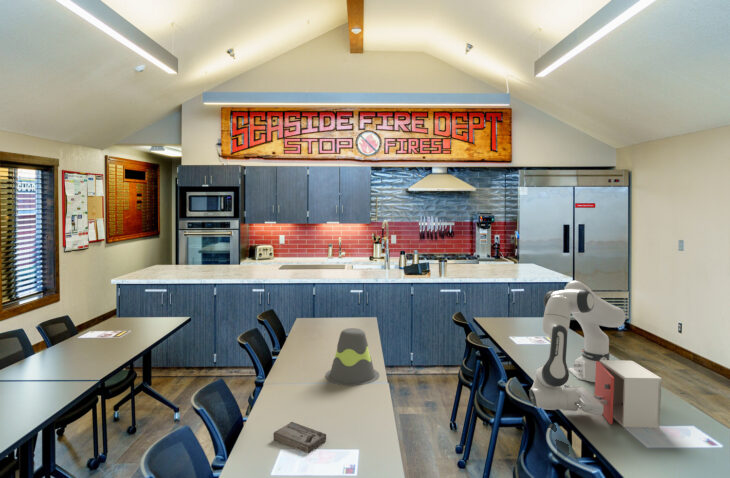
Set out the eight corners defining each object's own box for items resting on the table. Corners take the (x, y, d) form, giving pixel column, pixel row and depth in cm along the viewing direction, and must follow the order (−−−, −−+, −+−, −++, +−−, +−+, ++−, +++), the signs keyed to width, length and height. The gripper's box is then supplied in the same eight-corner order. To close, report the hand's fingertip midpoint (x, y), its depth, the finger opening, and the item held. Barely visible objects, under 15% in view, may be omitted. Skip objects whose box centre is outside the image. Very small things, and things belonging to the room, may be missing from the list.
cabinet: (598, 404, 209) (599, 360, 208) (630, 404, 208) (631, 360, 207) (623, 427, 187) (625, 377, 186) (659, 427, 186) (661, 378, 185)
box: (291, 428, 184) (291, 420, 184) (326, 441, 175) (326, 433, 174) (272, 440, 175) (272, 432, 175) (308, 454, 166) (308, 446, 165)
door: (590, 402, 209) (592, 360, 208) (596, 403, 209) (598, 361, 208) (605, 423, 189) (607, 377, 188) (612, 424, 188) (614, 377, 187)
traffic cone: (390, 378, 241) (390, 331, 239) (343, 389, 225) (343, 340, 223) (360, 363, 263) (360, 321, 262) (315, 373, 248) (315, 328, 246)
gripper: (581, 401, 184) (617, 403, 183) (562, 382, 204) (595, 384, 203) (580, 417, 184) (616, 419, 183) (561, 397, 204) (594, 398, 204)
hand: (605, 400), depth 193 cm, fingers closed
